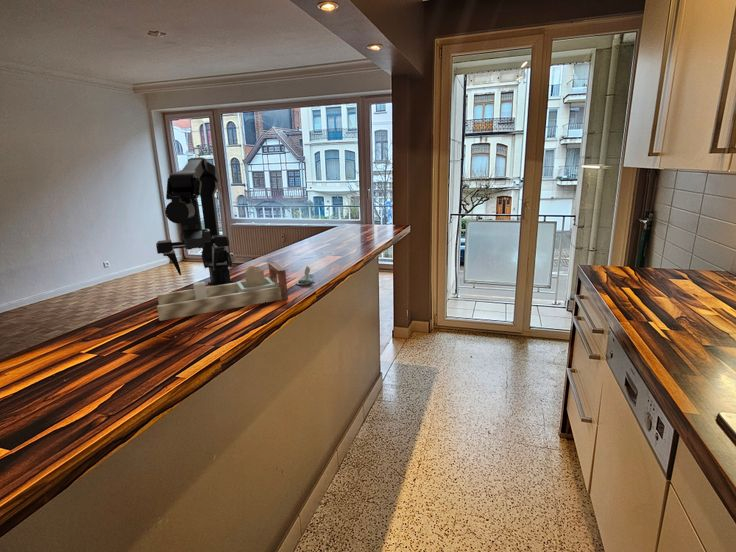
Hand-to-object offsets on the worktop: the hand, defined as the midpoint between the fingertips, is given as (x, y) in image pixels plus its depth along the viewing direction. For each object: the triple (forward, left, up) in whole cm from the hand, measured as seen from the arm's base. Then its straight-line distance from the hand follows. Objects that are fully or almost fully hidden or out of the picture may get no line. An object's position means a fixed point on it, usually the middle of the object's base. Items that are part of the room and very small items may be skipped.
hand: (197, 272), depth 118 cm
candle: (+10, +13, -10) cm, 19 cm away
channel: (+4, +5, -10) cm, 12 cm away
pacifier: (+14, +32, -11) cm, 36 cm away
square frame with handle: (+6, +8, -10) cm, 14 cm away
